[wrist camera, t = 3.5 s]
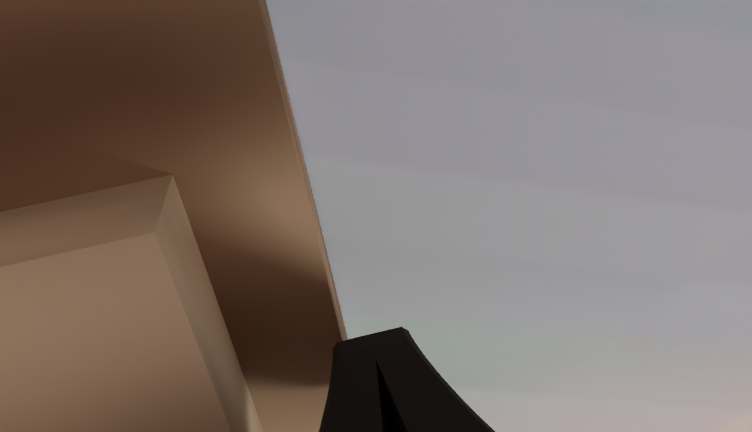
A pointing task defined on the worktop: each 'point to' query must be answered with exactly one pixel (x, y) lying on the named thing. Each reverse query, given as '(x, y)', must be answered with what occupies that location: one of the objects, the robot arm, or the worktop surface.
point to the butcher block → (184, 162)
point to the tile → (113, 319)
